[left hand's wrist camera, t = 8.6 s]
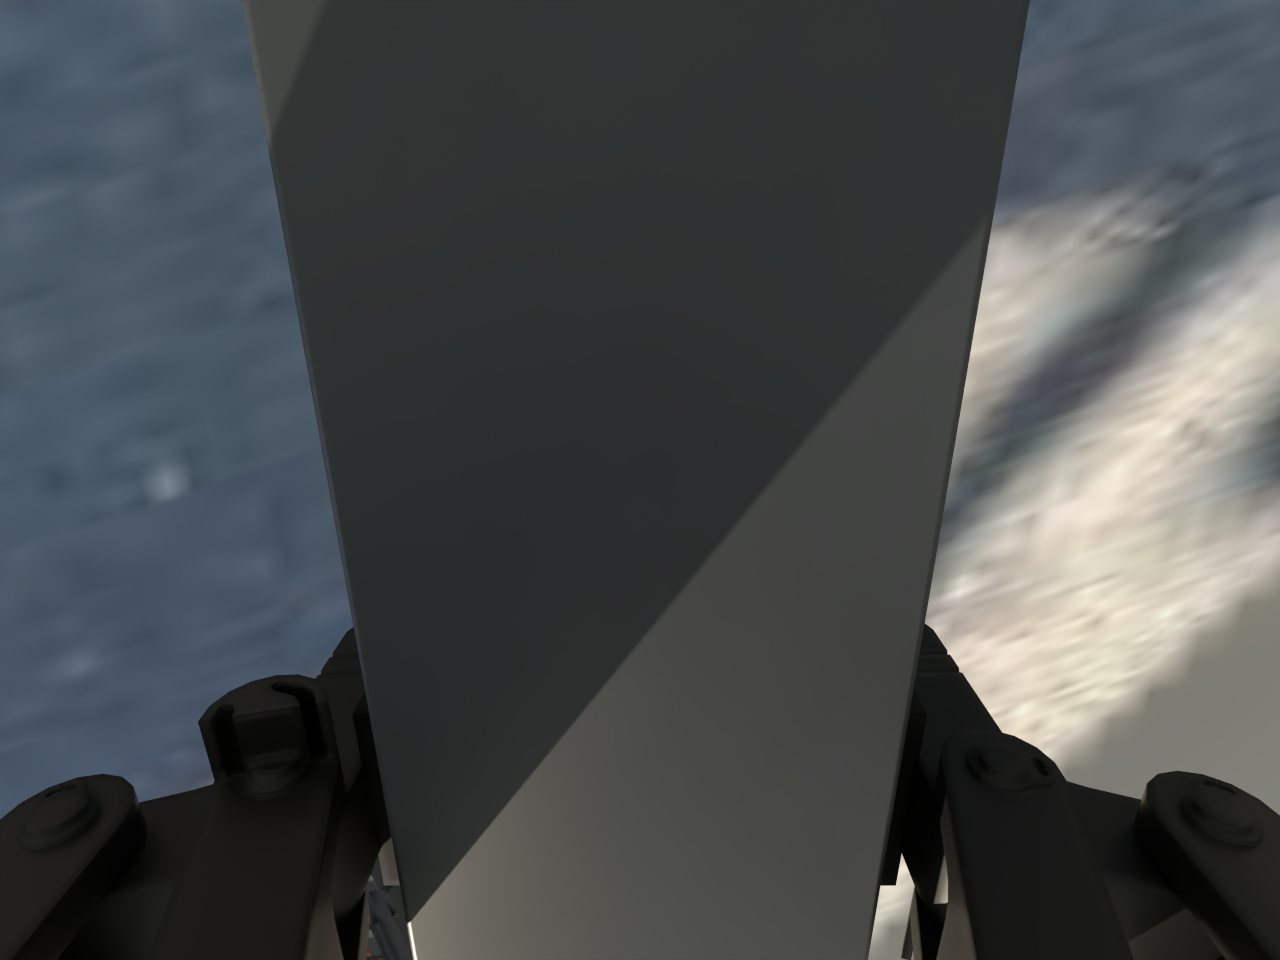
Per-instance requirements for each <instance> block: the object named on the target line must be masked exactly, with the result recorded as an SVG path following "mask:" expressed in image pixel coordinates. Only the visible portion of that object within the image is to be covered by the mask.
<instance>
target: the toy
mask: <svg viewBox="0 0 1280 960" xmlns="http://www.w3.org/2000/svg"><path fill="white" fill-rule="evenodd" d="M366 892H367V897H368V903H369V910H370V925H369V935H368V946H367V957H366V960H413V956H412V950H411V945H410V939H409V934H408V928H407V922H406V917H405V911H404V906H403V900H402V894H401V889H400V885H384V883H383V878H382V872H381V867H380V861H379V856H378V857H377V859H376V862H375V865H374V867H373V870H372V872H371V875H370V877H369V880H368V882H367V885H366Z"/></svg>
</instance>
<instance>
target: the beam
mask: <svg viewBox="0 0 1280 960" xmlns="http://www.w3.org/2000/svg"><path fill="white" fill-rule="evenodd" d="M1029 1H1030V0H242V4H243V10H244V15H245V21H246V26H247V32H248V38H249V43H250V49H251V54H252V60H253V66H254V71H255V77H256V82H257V88H258V94H259V99H260V105H261V110H262V116H263V122H264V127H265V133H266V138H267V144H268V150H269V155H270V161H271V166H272V172H273V178H274V183H275V189H276V194H277V200H278V206H279V211H280V217H281V222H282V228H283V234H284V239H285V245H286V250H287V256H288V262H289V267H290V273H291V278H292V284H293V290H294V295H295V301H296V306H297V312H298V318H299V323H300V329H301V334H302V340H303V346H304V351H305V357H306V362H307V368H308V374H309V379H310V385H311V390H312V396H313V402H314V407H315V413H316V418H317V424H318V430H319V435H320V441H321V446H322V452H323V458H324V463H325V469H326V474H327V480H328V486H329V491H330V497H331V502H332V508H333V514H334V519H335V525H336V530H337V536H338V542H339V547H340V553H341V558H342V564H343V570H344V575H345V581H346V586H347V592H348V598H349V603H350V609H351V614H352V620H353V626H354V631H355V637H356V642H357V648H358V654H359V659H360V665H361V670H362V676H363V682H364V687H365V693H366V698H367V704H368V710H369V715H370V721H371V726H372V732H373V738H374V743H375V749H376V754H377V760H378V766H379V771H380V777H381V782H382V788H383V794H384V799H385V805H386V810H387V816H388V822H389V827H390V833H391V838H392V844H393V850H394V855H395V861H396V866H397V872H398V878H399V883H400V889H401V894H402V900H403V906H404V911H405V917H406V922H407V928H408V934H409V939H410V945H411V950H412V956H413V960H868V955H869V949H870V943H871V938H872V932H873V926H874V920H875V914H876V908H877V902H878V896H879V890H880V884H881V878H882V872H883V866H884V860H885V855H886V849H887V843H888V837H889V831H890V825H891V819H892V813H893V807H894V801H895V795H896V789H897V783H898V777H899V772H900V766H901V760H902V754H903V748H904V742H905V736H906V730H907V724H908V718H909V712H910V706H911V700H912V695H913V689H914V683H915V677H916V671H917V665H918V659H919V653H920V647H921V641H922V635H923V629H924V623H925V617H926V612H927V606H928V600H929V594H930V588H931V582H932V576H933V570H934V564H935V558H936V552H937V546H938V540H939V534H940V529H941V523H942V517H943V511H944V505H945V499H946V493H947V487H948V481H949V475H950V469H951V463H952V457H953V451H954V446H955V440H956V434H957V428H958V422H959V416H960V410H961V404H962V398H963V392H964V386H965V380H966V374H967V369H968V363H969V357H970V351H971V345H972V339H973V333H974V327H975V321H976V315H977V309H978V303H979V297H980V291H981V286H982V280H983V274H984V268H985V262H986V256H987V250H988V244H989V238H990V232H991V226H992V220H993V214H994V208H995V203H996V197H997V191H998V185H999V179H1000V173H1001V167H1002V161H1003V155H1004V149H1005V143H1006V137H1007V131H1008V126H1009V120H1010V114H1011V108H1012V102H1013V96H1014V90H1015V84H1016V78H1017V72H1018V66H1019V60H1020V54H1021V48H1022V43H1023V37H1024V31H1025V25H1026V19H1027V13H1028V7H1029Z"/></svg>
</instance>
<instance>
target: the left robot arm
mask: <svg viewBox="0 0 1280 960" xmlns="http://www.w3.org/2000/svg"><path fill="white" fill-rule="evenodd" d="M198 723H199V727H200V730H201V734H202V737H203V741H204V744H205V748H206V751H207V755H208V758H209V762H210V765H211V769H212V772H213V776H214V779H215V781H214V783H213V784H212V785H208V786H205V787H202V788H199V789H195V790H191V791H187V792H183V793H179V794H174V795H170V796H166V797H161V798H157V799H153V800H149V801H144V802H140V803H139V802H138V799H137V796H136V793H135V790H134V787H133V786H132V785H131V784H130V783H129V782H128V781H126V780H125V779H124V778H123V777H119V776H113V775H107V774H99V775H92V776H85V777H78V778H75V779H72V780H69V781H66V782H63V783H60V784H58V785H55V786H52V787H49V788H47V789H45V790H44V791H42V792H40V793H38V794H36V795H34V796H33V797H31V798H29V799H27V800H25V801H23V802H22V803H20V804H19V805H18V806H17V807H15V808H14V809H13V810H12V811H10V812H9V813H8V814H7V815H5V816H4V817H3V818H2V819H0V960H366V957H367V946H368V935H369V925H370V910H369V903H368V897H367V892H366V885H367V882H368V880H369V877H370V875H371V872H372V870H373V867H374V865H375V862H376V859H377V857H378V856H379V861H380V867H381V872H382V878H383V883H384V885H400V883H399V878H398V872H397V866H396V861H395V855H394V850H393V844H392V838H391V833H390V827H389V822H388V816H387V810H386V805H385V799H384V794H383V788H382V782H381V777H380V771H379V766H378V760H377V754H376V749H375V743H374V738H373V732H372V726H371V721H370V715H369V710H368V704H367V698H366V693H365V687H364V682H363V676H362V670H361V665H360V659H359V654H358V648H357V642H356V637H355V631H354V627H353V628H352V629H350V630H349V631H348V632H347V633H346V634H345V636H344V637H343V639H342V640H341V642H340V643H339V645H338V646H337V648H336V649H335V651H334V652H333V657H330V658H329V660H328V661H327V663H326V664H325V666H324V667H323V669H322V670H321V675H318V676H317V678H316V679H313V678H310V677H306V676H302V675H276V676H272V677H268V678H264V679H260V680H255V681H252V682H249V683H247V684H245V685H243V686H241V687H239V688H236V689H234V690H232V691H230V692H228V693H227V694H225V695H224V696H223V697H221V698H220V699H218V700H217V701H216V702H214V703H213V704H212V705H210V706H209V708H208V709H207V710H206V712H205V713H204V714H203V716H202V717H201V718H200V720H199V721H198ZM901 853H902V855H903V857H904V860H905V862H906V865H907V867H908V870H909V872H910V875H911V877H912V880H913V882H914V885H915V887H914V892H913V897H912V903H911V908H910V913H909V918H908V923H907V928H906V933H905V938H904V943H903V950H902V957H901V958H903V959H907V960H911V957H912V952H913V955H914V960H1280V816H1279V815H1278V814H1277V813H1276V812H1274V811H1273V810H1272V809H1271V808H1269V807H1268V806H1267V805H1266V804H1264V803H1263V802H1262V801H1261V800H1259V799H1258V798H1256V797H1254V796H1252V795H1250V794H1248V793H1247V792H1245V791H1243V790H1241V789H1239V788H1237V787H1235V786H1234V785H1232V784H1229V783H1226V782H1223V781H1221V780H1218V779H1215V778H1212V777H1209V776H1206V775H1203V774H1196V773H1189V772H1182V771H1173V772H1167V773H1161V774H1157V775H1156V776H1155V777H1154V778H1153V779H1152V780H1150V781H1149V782H1148V783H1147V785H1146V788H1145V791H1144V794H1143V797H1142V800H1140V799H1135V798H1131V797H1127V796H1123V795H1118V794H1114V793H1110V792H1105V791H1101V790H1097V789H1093V788H1088V787H1084V786H1081V785H1078V784H1074V783H1071V782H1068V781H1066V779H1065V778H1064V776H1063V775H1062V773H1061V772H1060V770H1059V769H1058V767H1057V765H1056V764H1055V762H1053V761H1052V760H1051V759H1050V758H1049V757H1047V756H1046V755H1045V754H1044V753H1043V752H1041V751H1040V750H1039V749H1038V748H1037V747H1035V746H1033V745H1031V744H1029V743H1027V742H1025V741H1023V740H1021V739H1019V738H1017V737H1015V736H1012V735H1008V734H1005V733H1002V732H1001V730H1000V729H999V727H998V726H997V724H996V723H995V721H994V720H993V718H992V717H991V715H990V714H989V712H988V711H987V709H986V708H985V706H984V705H983V703H982V702H981V700H980V699H979V697H978V696H977V694H976V693H975V691H974V690H973V688H972V687H971V685H970V684H969V682H968V681H967V679H966V678H965V676H964V675H963V674H962V673H959V668H958V666H957V665H956V663H955V662H954V660H953V659H952V657H951V656H950V655H948V654H947V650H946V648H945V647H944V645H943V644H942V642H941V641H940V639H939V638H938V636H937V635H936V633H935V632H934V630H933V629H932V628H930V627H929V626H927V625H926V624H925V623H924V629H923V635H922V641H921V647H920V653H919V659H918V665H917V671H916V677H915V683H914V689H913V695H912V700H911V706H910V712H909V718H908V724H907V730H906V736H905V742H904V748H903V754H902V760H901V766H900V772H899V777H898V783H897V789H896V795H895V801H894V807H893V813H892V819H891V825H890V831H889V837H888V843H887V849H886V855H885V860H884V866H883V872H882V878H881V884H880V885H896V880H897V875H898V870H899V864H900V859H901Z"/></svg>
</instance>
